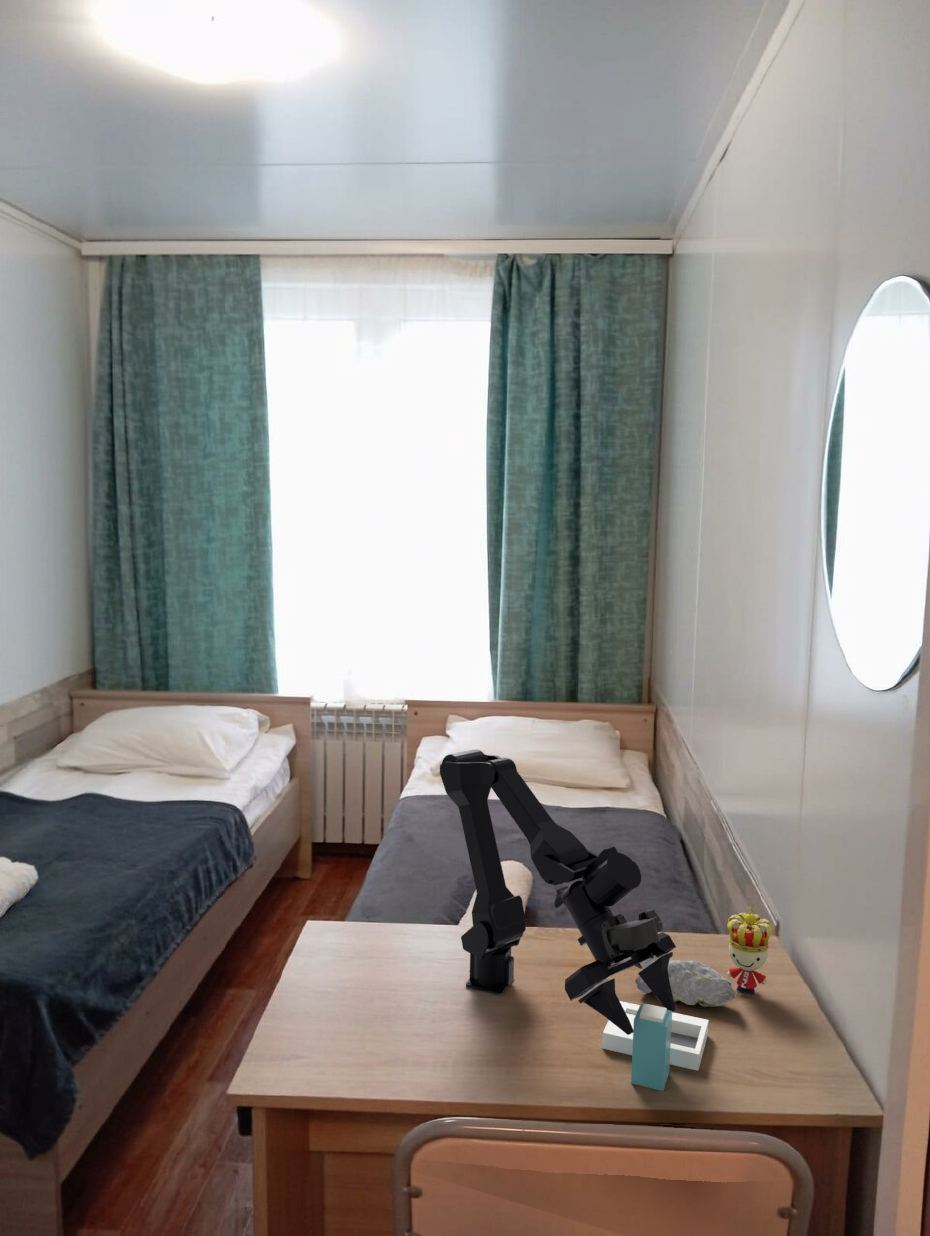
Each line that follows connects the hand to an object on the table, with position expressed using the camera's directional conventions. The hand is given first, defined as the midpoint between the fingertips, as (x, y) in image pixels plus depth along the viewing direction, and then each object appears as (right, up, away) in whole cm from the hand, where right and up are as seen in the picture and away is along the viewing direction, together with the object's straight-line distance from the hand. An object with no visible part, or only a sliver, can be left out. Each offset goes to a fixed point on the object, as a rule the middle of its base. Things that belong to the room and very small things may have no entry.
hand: (652, 1022), depth 133 cm
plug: (0, -8, +1) cm, 8 cm away
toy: (+21, -6, +26) cm, 34 cm away
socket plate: (+3, -7, +10) cm, 13 cm away
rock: (+10, -6, +23) cm, 26 cm away
